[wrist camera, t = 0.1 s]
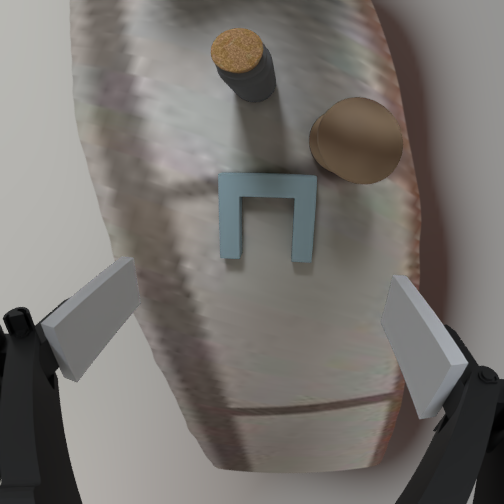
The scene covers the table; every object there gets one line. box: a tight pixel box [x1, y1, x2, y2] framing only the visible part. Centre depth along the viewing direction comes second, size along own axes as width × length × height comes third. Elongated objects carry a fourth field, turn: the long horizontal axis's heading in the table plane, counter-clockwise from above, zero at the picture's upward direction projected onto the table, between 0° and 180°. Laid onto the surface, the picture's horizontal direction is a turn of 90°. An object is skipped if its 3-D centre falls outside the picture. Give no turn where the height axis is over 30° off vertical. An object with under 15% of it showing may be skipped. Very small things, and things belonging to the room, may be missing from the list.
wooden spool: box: [309, 97, 403, 184], centre depth 30 cm, size 9×9×11 cm
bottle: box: [211, 28, 276, 102], centre depth 27 cm, size 6×6×15 cm
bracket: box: [218, 173, 317, 263], centre depth 40 cm, size 12×13×2 cm
